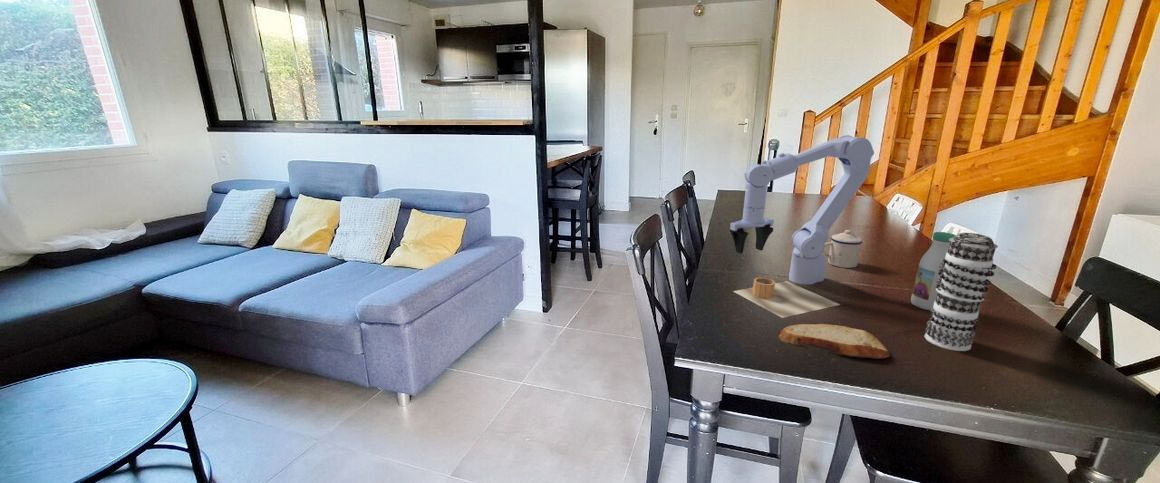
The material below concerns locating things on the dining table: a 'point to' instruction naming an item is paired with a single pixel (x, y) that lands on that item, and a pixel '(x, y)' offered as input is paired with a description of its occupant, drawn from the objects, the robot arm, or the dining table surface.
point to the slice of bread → (836, 340)
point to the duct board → (788, 299)
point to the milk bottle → (930, 271)
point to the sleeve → (763, 288)
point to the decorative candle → (960, 291)
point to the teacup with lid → (844, 250)
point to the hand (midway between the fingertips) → (749, 251)
